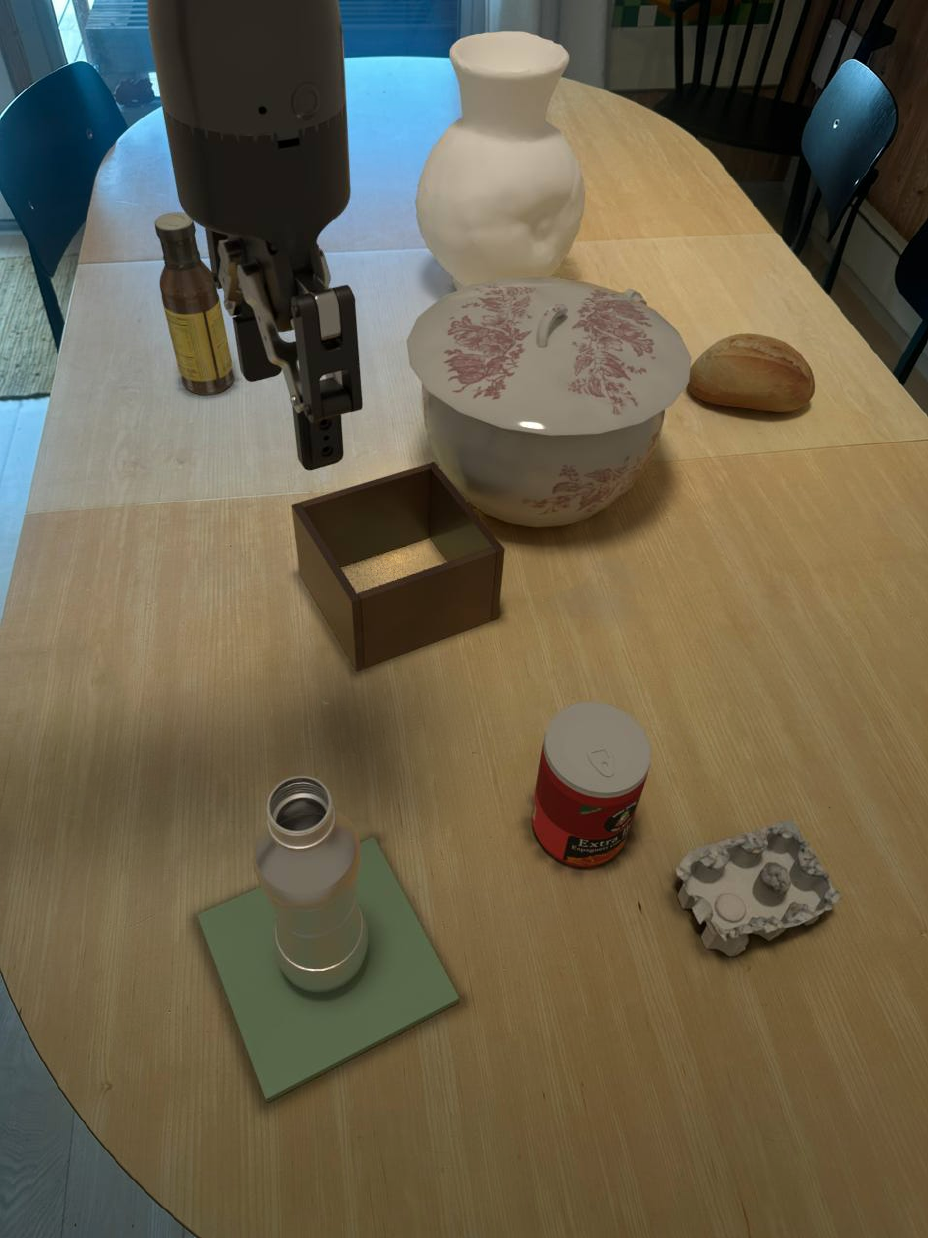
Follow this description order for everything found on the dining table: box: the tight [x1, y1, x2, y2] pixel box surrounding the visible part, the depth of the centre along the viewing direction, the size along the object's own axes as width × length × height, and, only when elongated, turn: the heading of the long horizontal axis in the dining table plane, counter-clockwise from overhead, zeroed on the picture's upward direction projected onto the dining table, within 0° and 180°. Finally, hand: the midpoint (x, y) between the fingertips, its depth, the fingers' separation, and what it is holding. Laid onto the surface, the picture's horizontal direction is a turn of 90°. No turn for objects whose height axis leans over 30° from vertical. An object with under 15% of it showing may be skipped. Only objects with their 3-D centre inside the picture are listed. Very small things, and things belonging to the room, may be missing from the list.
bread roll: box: [687, 332, 816, 413], centre depth 114 cm, size 10×15×8 cm, turn 80°
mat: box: [196, 836, 460, 1104], centre depth 68 cm, size 14×14×1 cm
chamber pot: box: [406, 276, 692, 529], centre depth 98 cm, size 28×28×21 cm
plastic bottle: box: [252, 775, 369, 992], centre depth 61 cm, size 6×7×20 cm
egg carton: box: [675, 818, 842, 957], centre depth 72 cm, size 11×8×4 cm
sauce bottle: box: [154, 211, 234, 396], centre depth 108 cm, size 6×6×20 cm
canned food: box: [531, 701, 652, 868], centre depth 73 cm, size 8×8×11 cm
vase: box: [414, 30, 586, 291], centre depth 122 cm, size 19×21×30 cm
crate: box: [291, 461, 506, 672], centre depth 90 cm, size 15×14×9 cm
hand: (290, 417), depth 52 cm, fingers open, 8 cm apart
